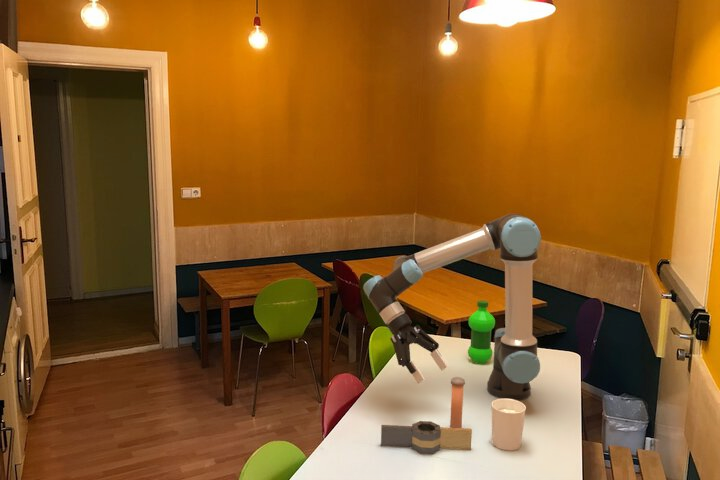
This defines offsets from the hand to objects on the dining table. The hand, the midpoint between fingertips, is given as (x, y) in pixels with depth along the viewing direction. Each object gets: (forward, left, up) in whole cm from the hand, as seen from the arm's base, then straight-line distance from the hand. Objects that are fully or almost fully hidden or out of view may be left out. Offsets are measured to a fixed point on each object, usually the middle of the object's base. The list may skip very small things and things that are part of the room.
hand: (433, 374), depth 185 cm
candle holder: (-21, +13, -16) cm, 29 cm away
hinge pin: (-7, +5, -15) cm, 18 cm away
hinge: (+3, +17, -15) cm, 23 cm away
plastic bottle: (-23, -54, -16) cm, 61 cm away
